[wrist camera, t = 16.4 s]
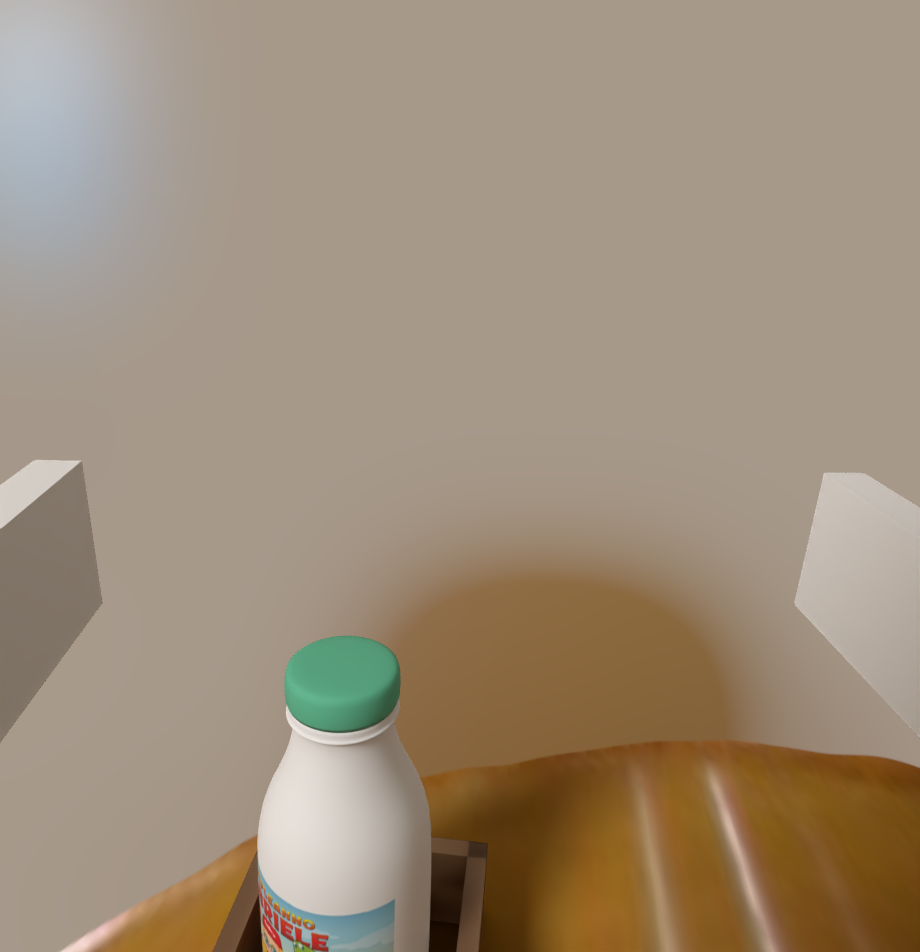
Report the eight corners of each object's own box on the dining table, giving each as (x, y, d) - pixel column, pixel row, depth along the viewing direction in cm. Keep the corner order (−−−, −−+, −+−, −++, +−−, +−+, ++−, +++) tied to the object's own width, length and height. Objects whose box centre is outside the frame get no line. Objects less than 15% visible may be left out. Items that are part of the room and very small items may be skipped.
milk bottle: (343, 906, 42) (337, 594, 35) (457, 986, 38) (476, 652, 31) (233, 1023, 36) (199, 673, 29) (355, 1132, 32) (350, 759, 25)
